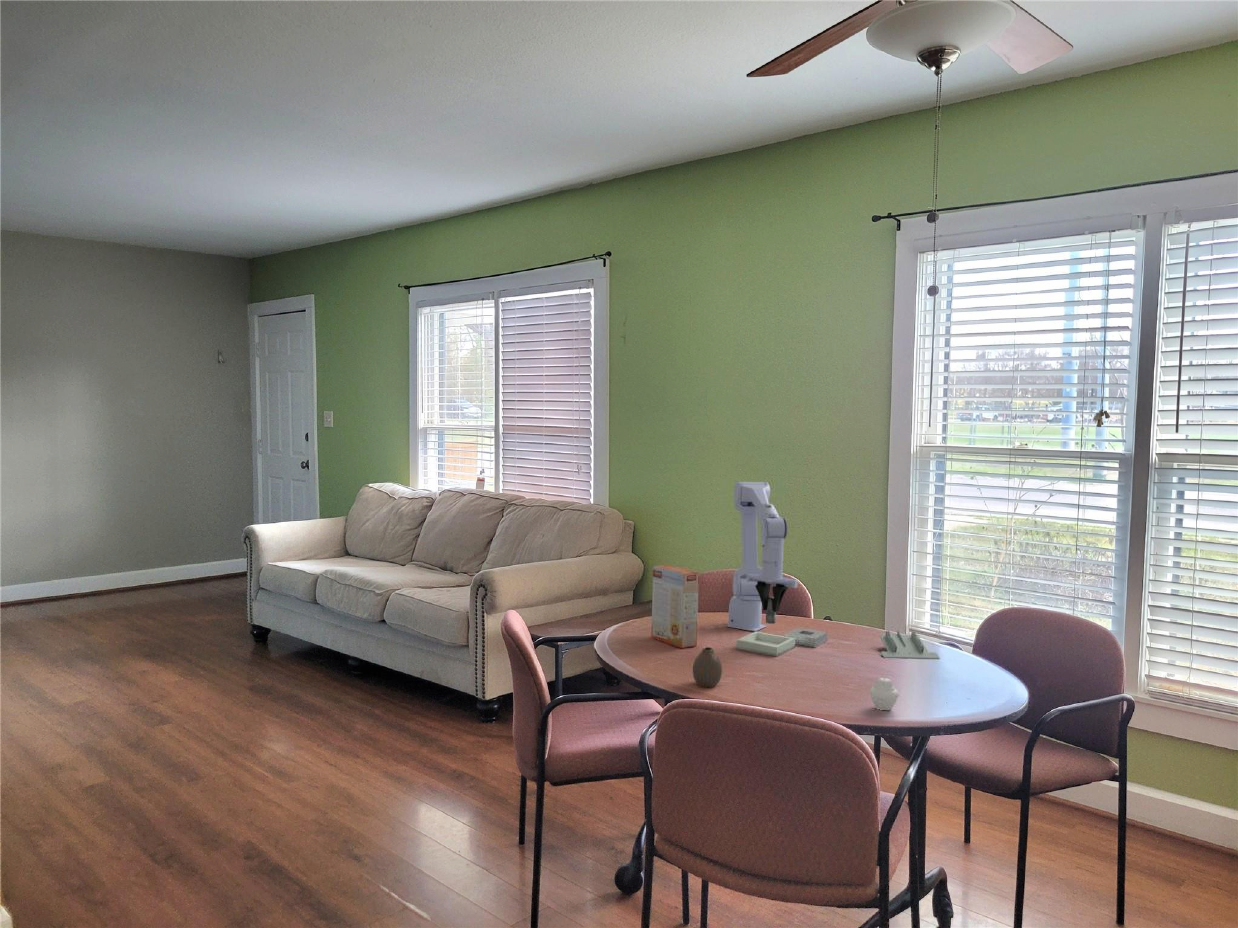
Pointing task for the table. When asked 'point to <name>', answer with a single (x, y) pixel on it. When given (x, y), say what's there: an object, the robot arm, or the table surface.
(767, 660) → the table surface
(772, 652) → the tray
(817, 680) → the table surface
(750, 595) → the robot arm
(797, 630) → the block
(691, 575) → the cracker box
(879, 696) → the white rounded piece
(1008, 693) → the table surface
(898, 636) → the metal bracket
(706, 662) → the vase
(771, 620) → the pin
